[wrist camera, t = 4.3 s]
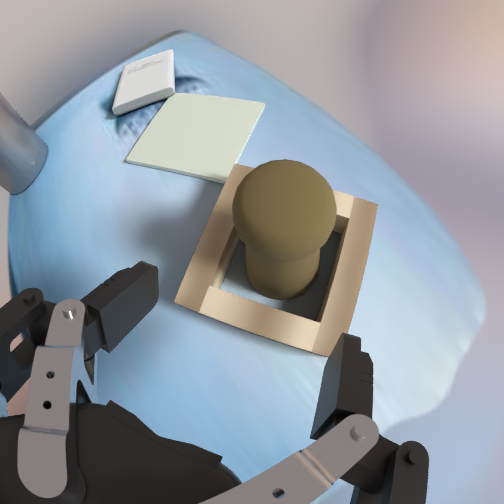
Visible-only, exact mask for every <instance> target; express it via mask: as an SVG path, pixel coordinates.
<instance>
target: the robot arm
mask: <svg viewBox="0 0 504 504" xmlns="http://www.w3.org/2000/svg"><path fill="white" fill-rule="evenodd" d="M47 154H48V146H47V144H46V143H45V142H44V141H43V140H42V139H41V138H40V137H39V136H38V135H37V134H36V133H35V131H34V130H33V129H32V128H31V127H30V126H29V125H28V124H27V123H26V121H24V119H23V118H22V117H21V116H20V115H19V114H18V112H17V111H16V110H15V109H14V108H13V107H12V106H11V104H10V103H9V102H8V101H7V100H6V99H5V98H4V96H3V95H2V94H1V93H0V185H1V186H2V187H3V188H4V189H6V190H7V191H8V192H10V193H11V194H13V195H16V194H19V193H21V192H22V191H24V190H25V189H26V188H27V187H28V186H29V185H30V184H31V183H32V182H33V181H34V179H35V178H36V177H37V175H38V174H39V172H40V171H41V169H42V167H43V165H44V163H45V160H46V158H47ZM157 300H158V268H157V267H156V266H154V265H151V264H149V263H146V262H144V261H140V262H138V263H137V264H136V265H134V266H133V267H132V268H126V269H123V270H120V271H118V272H116V273H115V274H114V275H112V276H111V277H110V279H109V278H108V279H107V280H106V281H104V283H103V284H100V285H99V286H98V287H97V288H95V289H94V290H93V291H91V292H90V293H89V294H88V295H86V296H85V297H84V298H82V299H81V300H80V301H79V300H77V299H66V300H63V301H61V302H59V303H58V304H55V303H51V302H48V301H45V300H44V297H43V293H42V292H41V290H39V289H37V288H28V289H25V290H23V291H22V292H20V293H19V294H18V295H16V296H15V297H14V298H13V299H11V300H10V301H9V302H8V303H6V304H5V305H4V306H3V307H2V308H0V504H310V503H311V502H312V501H314V500H315V499H316V498H318V497H319V496H320V495H322V494H323V493H324V492H325V491H327V490H328V489H329V488H330V487H331V486H332V485H333V483H334V482H335V481H336V480H337V479H339V478H340V479H342V480H344V481H346V482H348V483H350V484H352V485H354V490H353V494H352V498H351V501H350V504H425V502H426V493H427V483H428V467H429V456H428V453H427V451H426V449H425V447H424V446H423V445H421V444H420V443H418V442H415V441H407V442H405V443H403V444H402V445H398V444H396V443H393V442H392V441H390V440H388V439H386V438H384V437H383V436H381V435H380V434H379V430H378V427H377V425H376V424H375V422H374V421H373V420H372V408H373V363H372V360H371V358H370V356H369V354H368V353H365V352H362V351H361V338H360V337H357V336H354V335H350V334H347V333H342V334H341V335H340V337H339V339H338V341H337V343H336V345H335V347H334V348H333V350H332V352H331V354H330V356H329V358H328V360H327V362H326V365H325V368H324V372H323V377H322V383H321V388H320V393H319V398H318V403H317V408H316V413H315V418H314V422H313V427H312V431H311V435H310V439H314V440H317V441H315V442H314V443H312V444H311V445H309V446H308V447H307V448H305V449H303V450H300V451H298V452H296V453H294V454H292V455H291V456H289V457H288V458H286V459H285V460H283V461H281V462H280V463H278V464H276V465H275V466H273V467H271V468H270V469H268V470H266V471H264V472H263V473H261V474H259V475H257V476H255V477H254V478H252V479H250V480H248V481H246V482H244V483H242V482H241V481H240V480H239V478H238V477H237V476H236V475H235V474H234V473H233V472H232V471H231V470H230V469H229V468H227V467H226V466H225V465H223V464H222V463H221V460H222V456H220V455H217V454H215V453H212V452H210V451H207V450H205V449H202V448H200V447H198V446H195V445H193V444H189V443H185V442H180V441H176V440H171V439H167V438H163V437H160V436H158V435H156V434H155V433H154V432H153V431H152V430H151V429H149V428H148V427H147V426H146V425H145V424H144V423H143V422H142V421H141V420H140V419H138V418H137V417H136V416H135V415H134V414H132V413H131V412H129V411H127V410H126V409H124V408H122V407H121V406H119V405H118V404H116V403H114V402H113V401H111V400H110V401H109V402H108V404H107V405H102V404H99V399H98V395H97V359H98V355H97V351H98V350H99V349H100V348H102V349H103V350H105V351H107V352H108V353H110V352H111V351H112V350H113V349H114V348H115V347H116V346H117V345H118V344H119V343H120V341H121V340H122V339H123V338H124V337H125V336H126V335H127V334H128V333H129V332H130V331H131V330H132V329H133V328H134V327H135V326H136V325H137V324H138V323H139V322H140V321H141V320H142V319H143V318H144V317H145V316H146V315H147V314H148V313H149V312H150V311H151V310H152V309H153V308H154V306H155V305H156V303H157ZM25 328H26V330H27V332H28V334H29V335H28V336H27V337H26V338H25V339H24V340H23V341H22V342H21V343H20V344H19V345H18V346H17V347H16V348H15V349H14V350H13V351H12V352H10V344H11V342H12V340H13V339H15V338H16V337H17V336H18V335H19V334H20V333H21V332H22V331H23V330H24V329H25ZM29 378H30V383H29V389H28V396H27V404H26V412H25V414H22V415H14V416H8V412H7V410H6V406H7V403H8V402H9V400H10V399H11V398H12V397H13V396H14V395H15V394H16V392H17V391H18V390H19V389H20V388H21V387H22V386H23V384H24V383H25V382H26V381H27V380H28V379H29Z"/></svg>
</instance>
